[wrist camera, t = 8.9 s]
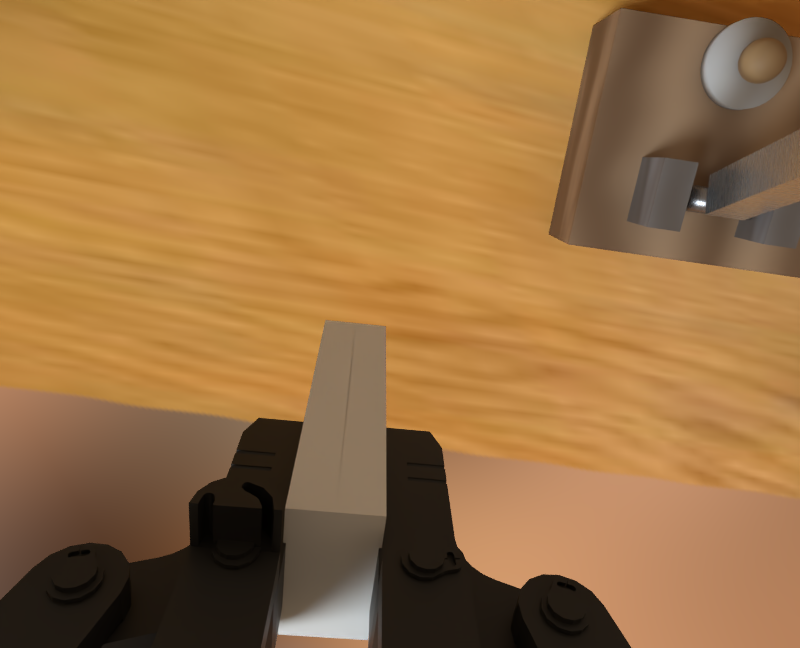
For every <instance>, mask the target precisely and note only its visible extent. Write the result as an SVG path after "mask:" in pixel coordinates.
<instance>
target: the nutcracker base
mask: <svg viewBox="0 0 800 648" xmlns="http://www.w3.org/2000/svg"><path fill="white" fill-rule="evenodd" d="M799 129H800V38H798V37H792V36H788V35H787V33H786V32H785V31H784V29H783V28H782V27H781V26H780V25H779V24H777V23H776V22H774V21H772V20H770V19H767V18H762V17H751V18H746V19H743V20H740V21H738V22H735V23H733V24H731V25H728V26H726V25H720V24H714V23H708V22H702V21H696V20H690V19H684V18H678V17H672V16H666V15H660V14H654V13H648V12H642V11H636V10H630V9H624V8H620V9H619V10H617V11H616V12H614V13H612V14H611V15H609V16H608V17H606V18H605V19H603V20H601V21H600V22H598V23H597V24H595V25H594V26H593V29H592V34H591V38H590V43H589V48H588V53H587V57H586V62H585V67H584V71H583V76H582V81H581V85H580V90H579V95H578V99H577V104H576V109H575V113H574V118H573V123H572V128H571V132H570V137H569V142H568V146H567V151H566V156H565V160H564V165H563V170H562V174H561V179H560V184H559V188H558V193H557V198H556V203H555V207H554V212H553V217H552V221H551V226H550V231H549V235H551V236H553V237H555V238H557V239H559V240H561V241H563V242H565V243H567V244H569V245H576V246H583V247H590V248H597V249H604V250H611V251H618V252H625V253H632V254H639V255H646V256H653V257H660V258H666V259H673V260H680V261H687V262H694V263H701V264H708V265H715V266H722V267H729V268H736V269H743V270H750V271H757V272H764V273H770V274H777V275H784V276H791V277H798V278H800V201H799V202H796V203H793V204H790V205H787V206H784V207H781V208H778V209H775V210H773V211H770V212H767V213H764V214H761V215H758V216H755V217H753V218H752V219H751V220H738V219H732V218H725V217H718V216H711V215H705V214H703V213H696V212H690V211H686V208H687V204H688V201H689V197H690V193H691V190H692V186H693V185H699V186H706V187H708V184H709V175H711V174H713V173H715V172H717V171H719V170H721V169H723V168H724V167H726V166H728V165H730V164H732V163H734V162H736V161H738V160H740V159H742V158H744V157H746V156H748V155H750V154H752V153H754V152H756V151H758V150H760V149H762V148H764V147H766V146H768V145H770V144H772V143H774V142H776V141H778V140H780V139H781V138H783V137H785V136H787V135H789V134H791V133H793V132H795V131H797V130H799Z"/></svg>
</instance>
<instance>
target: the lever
mask: <svg viewBox="0 0 800 648" xmlns="http://www.w3.org/2000/svg"><path fill="white" fill-rule="evenodd" d="M799 201H800V129H799V130H797V131H795V132H793V133H791V134H789V135H787V136H785V137H783V138H781V139H780V140H778V141H776V142H774V143H772V144H770V145H768V146H766V147H764V148H762V149H760V150H758V151H756V152H754V153H752V154H750V155H748V156H746V157H744V158H742V159H740V160H738V161H736V162H734V163H732V164H730V165H728V166H726V167H724V168H723V169H721V170H719V171H717V172H715V173H713V174H711V175H709V184H708V187H706V186H699V185H693V186H692V190H691V193H690V197H689V201H688V204H687V208H686V211H690V212H696V213H703V214H705V215H711V216H718V217H725V218H732V219H738V220H751V219H752V218H753V217H755V216H758V215H761V214H764V213H767V212H770V211H773V210H775V209H778V208H781V207H784V206H787V205H790V204H793V203H796V202H799Z"/></svg>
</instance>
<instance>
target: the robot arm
mask: <svg viewBox="0 0 800 648" xmlns="http://www.w3.org/2000/svg"><path fill="white" fill-rule="evenodd" d="M189 521H190V545H189V546H188V547H186V548H184V549H182V550H180V551H178V552H175V553H173V554H170V555H167V556H163V557H159V558H154V559H149V560H143V561H138V562H133V563H129V562H128V561H127V560H126V558H125V556H124V555H123V553H122V552H121V551H119V550H117V549H115V548H113V547H111V546H109V545H106V544H96V543H87V544H81V545H75V546H70V547H67V548H65V549H63V550H60V551H58V552H56V553H53V554H51V555H49V556H48V557H47V558H45V559H44V560H43V561H41V562H40V563H39V564H37V565H36V566H35V567H33V568H32V569H31V570H30V571H29V572H28V573H27V574H26V575H25V576H24V577H23V578H22V579H21V580H20V581H19V582H18V583H17V584H16V585H15V586H14V587H13V588H12V589H11V590H10V591H9V592H8V593H7V594H6V595H5V596H4V597H3V598H2V599H1V600H0V648H275V645H276V639H277V634H280V635H296V636H297V635H298V636H312V637H327V638H344V639H360V640H368V635H369V644H368V648H631V647H630V645H629V644H628V642H627V640H626V639H625V637H624V636H623V634H622V633H621V631H620V630H619V628H618V626H617V625H616V623H615V622H614V620H613V619H612V617H611V616H610V614H609V613H608V611H607V610H606V608H605V607H604V605H603V604H602V603H601V602H600V601H599V599H598V598H597V597H596V596H595V595H594V594H593V593H592V591H590V590H589V589H587V588H586V587H584V586H583V585H581V584H580V583H578V582H577V581H575V580H572V579H569V578H566V577H563V576H560V575H544V574H543V575H540V576H537V577H534V578H531V579H529V580H528V581H527V582H526V584H525V585H524V586H523V587H522V588H521V589H519V588H516V587H514V586H511V585H508V584H505V583H502V582H500V581H497V580H494V579H492V578H490V577H488V576H485V575H483V574H482V573H480V572H479V571H478V570H476V569H475V568H473V567H472V566H471V565H470V564H469V563H468V562H467V561H466V560H465V557H464V555H463V553H462V552H461V550H460V549H459V548H458V547H457V545H456V541H455V537H454V531H453V524H452V516H451V509H450V502H449V496H448V488H447V484H446V474H445V469H444V461H443V453H442V448H441V446H440V445H439V443H438V442H437V441H436V439H435V438H434V437H433V435H432V434H431V433H430V432H427V431H416V430H405V429H394V428H386V326H378V325H368V324H358V323H349V322H339V321H329V320H325V325H324V330H323V334H322V339H321V344H320V348H319V353H318V358H317V362H316V367H315V372H314V376H313V381H312V385H311V390H310V395H309V399H308V404H307V409H306V413H305V418H304V422H298V421H287V420H276V419H265V418H258V419H257V420H256V421H255V422H254V423H253V424H252V425H250V426H249V427H248V428H247V429H246V430H245V431H244V432H243V434H242V436H241V439H240V442H239V445H238V447H237V452H236V453H235V455H234V458H233V461H232V464H231V468H230V469H229V472H228V475H227V477H226V478H223V479H220V480H217V481H213V482H211V483H209V484H208V485H207V486H205V487H203V488H202V489H200V490H199V491H197V493H196V494H195V495H194V497H193V498H192V500H191V501H190V502H189Z"/></svg>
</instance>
